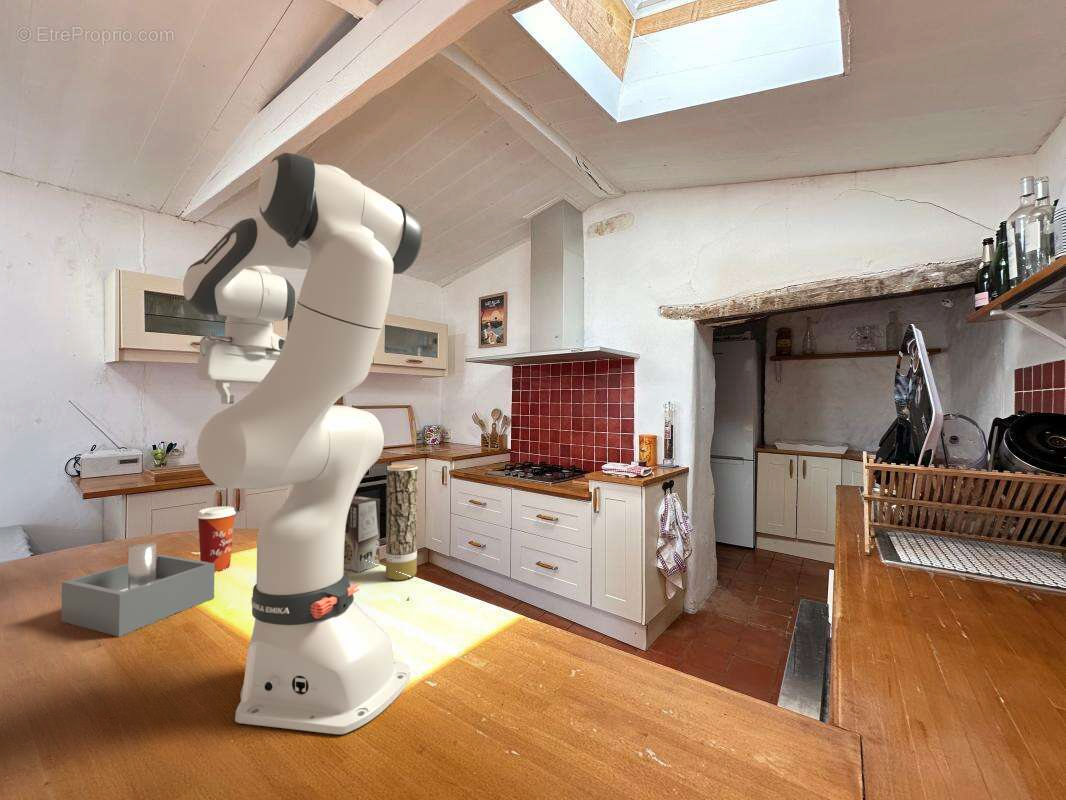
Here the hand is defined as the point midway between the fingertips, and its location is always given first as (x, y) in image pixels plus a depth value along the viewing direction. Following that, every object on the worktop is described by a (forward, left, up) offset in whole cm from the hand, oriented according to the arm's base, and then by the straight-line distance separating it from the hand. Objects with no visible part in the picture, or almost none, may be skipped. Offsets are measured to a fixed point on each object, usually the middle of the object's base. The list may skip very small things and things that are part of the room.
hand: (248, 403), depth 98 cm
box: (+8, +15, -39) cm, 43 cm away
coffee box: (-14, -18, -39) cm, 46 cm away
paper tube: (-28, -16, -39) cm, 51 cm away
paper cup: (+16, -5, -39) cm, 43 cm away
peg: (+8, +15, -39) cm, 43 cm away
